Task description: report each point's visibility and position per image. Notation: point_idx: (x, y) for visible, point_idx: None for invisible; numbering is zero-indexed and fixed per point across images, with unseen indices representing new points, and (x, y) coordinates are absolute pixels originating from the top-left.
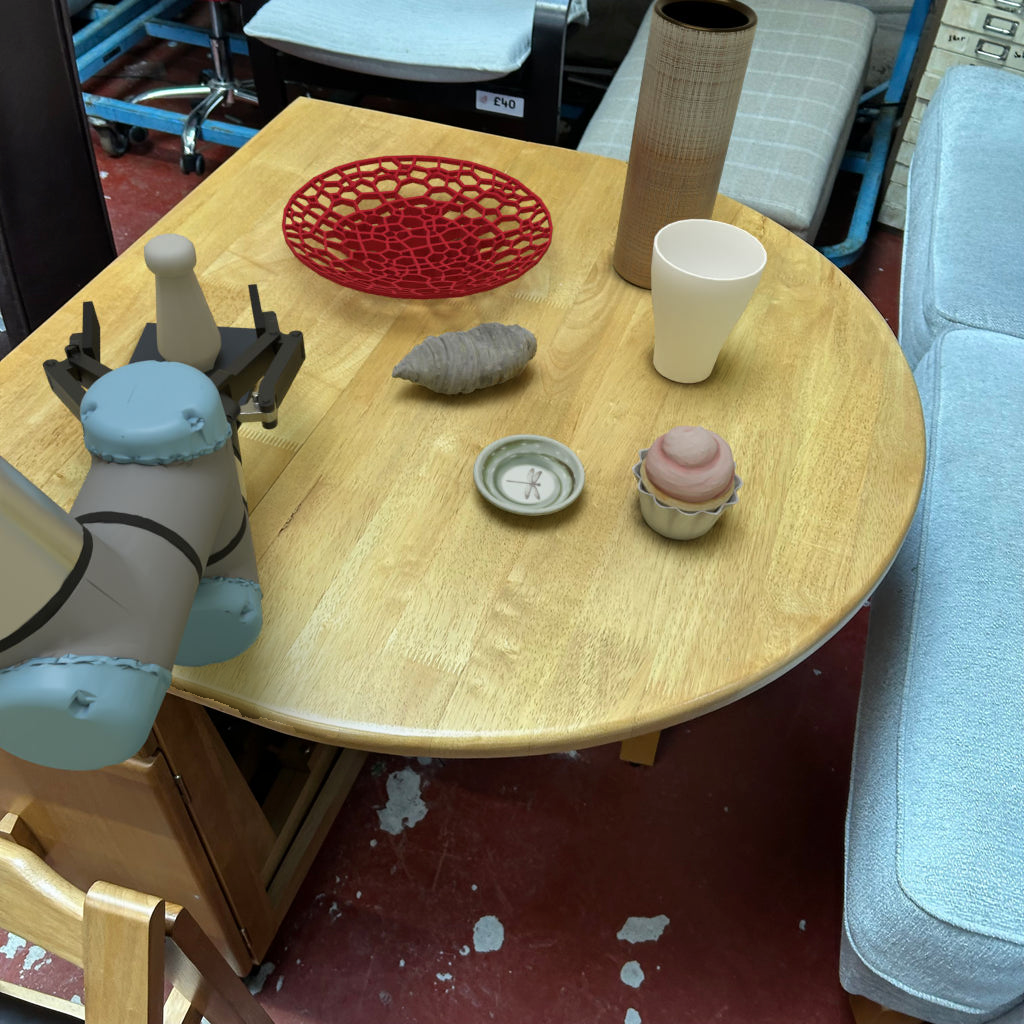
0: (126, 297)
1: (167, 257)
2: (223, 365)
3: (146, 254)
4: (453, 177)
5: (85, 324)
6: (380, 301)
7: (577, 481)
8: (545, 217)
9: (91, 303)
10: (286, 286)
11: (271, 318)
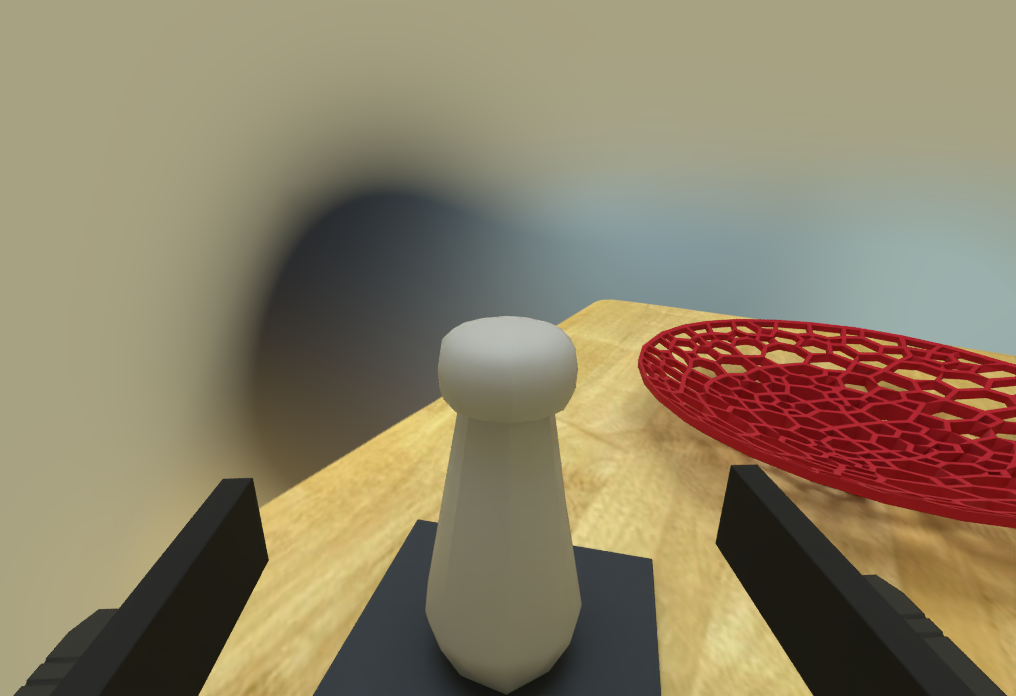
0: (397, 468)
1: (507, 360)
2: (573, 661)
3: (446, 352)
4: (837, 344)
5: (156, 577)
6: (830, 512)
7: None
8: None
9: (244, 486)
10: (647, 470)
11: (903, 617)
